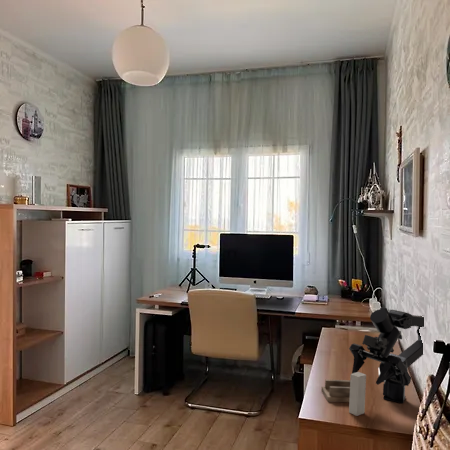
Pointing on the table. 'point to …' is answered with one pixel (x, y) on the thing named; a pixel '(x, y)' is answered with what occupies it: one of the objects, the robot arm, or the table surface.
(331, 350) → the table surface
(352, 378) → the beige rectangular block
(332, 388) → the beige rail channel
